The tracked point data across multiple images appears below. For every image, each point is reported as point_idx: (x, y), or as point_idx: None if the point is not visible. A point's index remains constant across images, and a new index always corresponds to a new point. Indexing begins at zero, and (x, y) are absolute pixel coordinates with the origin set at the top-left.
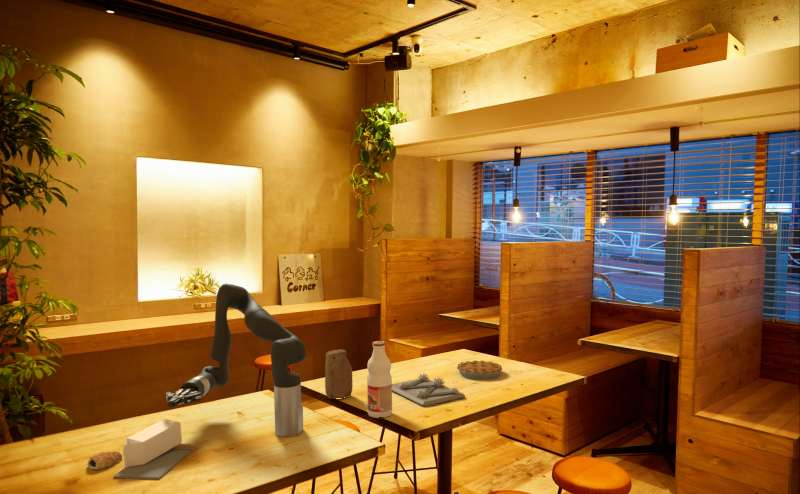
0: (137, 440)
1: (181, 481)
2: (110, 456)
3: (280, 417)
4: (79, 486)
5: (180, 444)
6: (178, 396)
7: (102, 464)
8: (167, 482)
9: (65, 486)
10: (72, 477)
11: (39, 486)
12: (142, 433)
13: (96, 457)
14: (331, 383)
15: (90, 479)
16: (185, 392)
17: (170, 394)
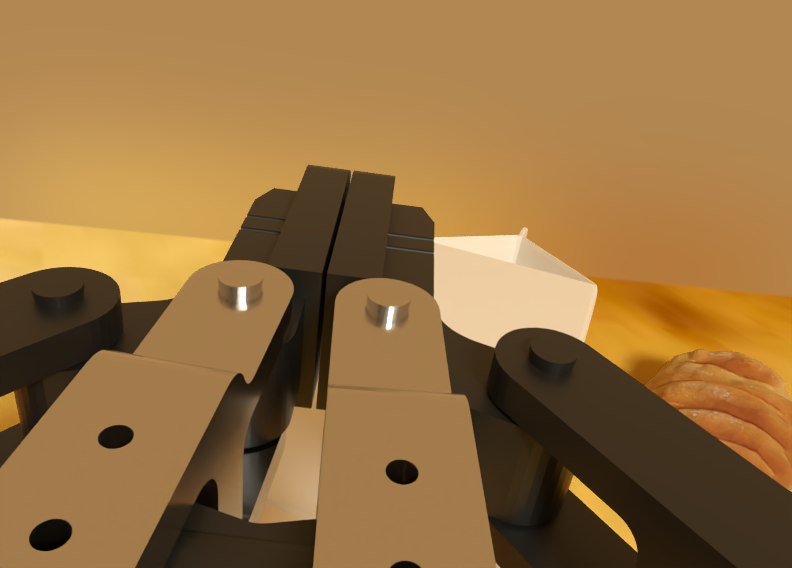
0: (475, 254)
1: (103, 261)
2: (673, 401)
3: None
4: (597, 282)
5: None
6: (281, 307)
7: (657, 374)
8: (178, 263)
9: (662, 288)
10: (724, 345)
11: (781, 300)
12: (519, 318)
13: (727, 360)
14: None
15: (607, 322)
16: (66, 447)
17: (687, 496)
